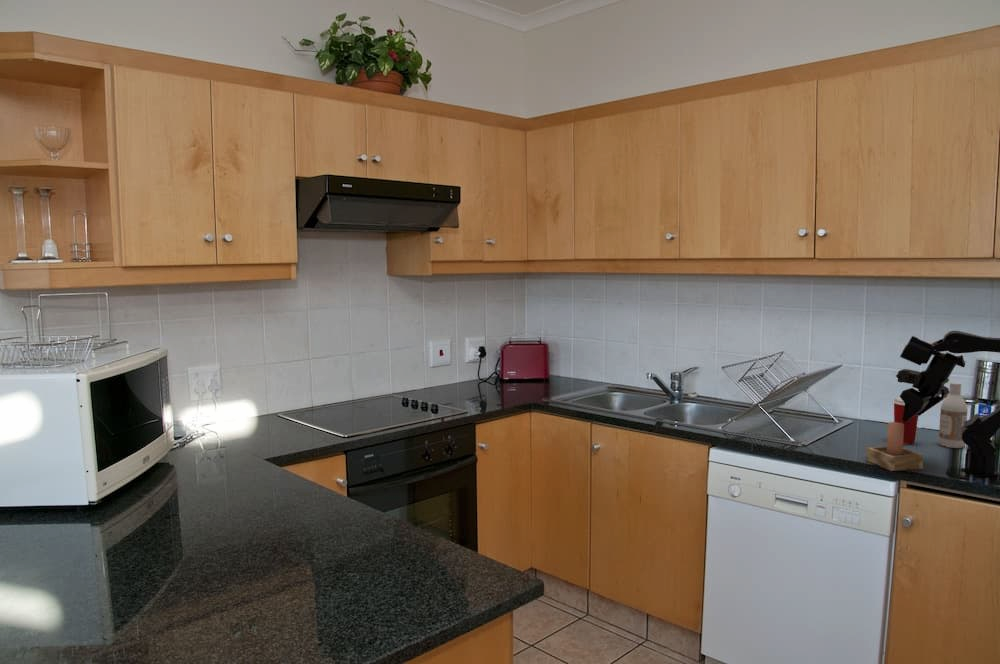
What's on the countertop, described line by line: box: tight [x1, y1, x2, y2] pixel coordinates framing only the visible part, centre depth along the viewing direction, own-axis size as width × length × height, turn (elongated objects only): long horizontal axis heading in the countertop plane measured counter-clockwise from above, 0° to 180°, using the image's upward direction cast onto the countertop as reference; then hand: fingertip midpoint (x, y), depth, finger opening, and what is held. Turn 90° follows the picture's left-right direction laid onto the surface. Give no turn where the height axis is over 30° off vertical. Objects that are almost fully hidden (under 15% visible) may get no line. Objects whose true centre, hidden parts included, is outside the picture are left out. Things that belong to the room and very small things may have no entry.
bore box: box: [865, 445, 924, 472], centre depth 202 cm, size 10×10×4 cm
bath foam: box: [938, 381, 968, 449], centre depth 220 cm, size 7×7×20 cm
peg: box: [886, 421, 904, 456], centre depth 201 cm, size 4×4×12 cm
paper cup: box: [892, 396, 919, 445], centre depth 225 cm, size 8×8×14 cm
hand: (910, 417), depth 204 cm, fingers open, 9 cm apart
